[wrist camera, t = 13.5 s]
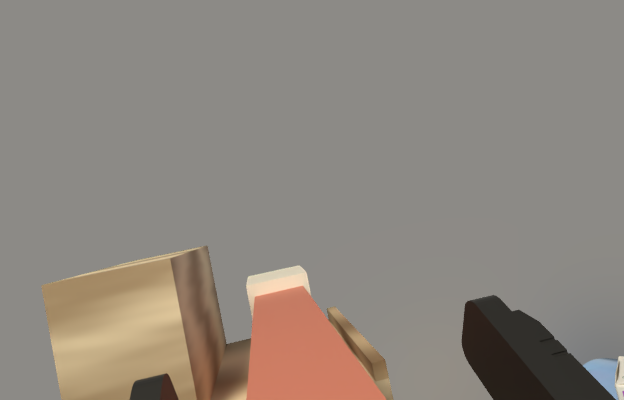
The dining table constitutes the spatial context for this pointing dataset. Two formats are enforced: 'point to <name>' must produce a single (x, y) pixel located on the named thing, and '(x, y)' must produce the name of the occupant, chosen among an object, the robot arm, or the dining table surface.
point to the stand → (159, 332)
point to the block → (298, 345)
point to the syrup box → (620, 378)
